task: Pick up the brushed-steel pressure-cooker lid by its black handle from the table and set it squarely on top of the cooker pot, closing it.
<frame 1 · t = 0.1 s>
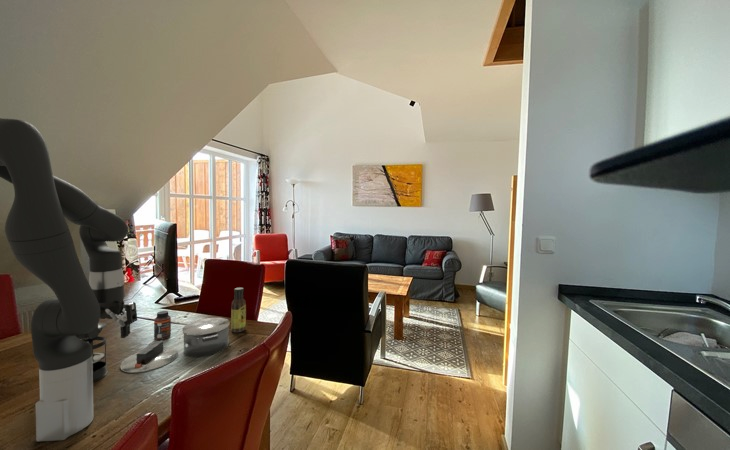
hand: (109, 337, 84), 17 cm above the table, tool pointing down, fingers open, 8 cm apart
french press: (86, 378, 92), on the table
supplement bottle: (162, 338, 122), on the table
cooker pot: (207, 347, 114), on the table
cooker lid: (150, 360, 104), on the table
sauce bottle: (238, 330, 131), on the table
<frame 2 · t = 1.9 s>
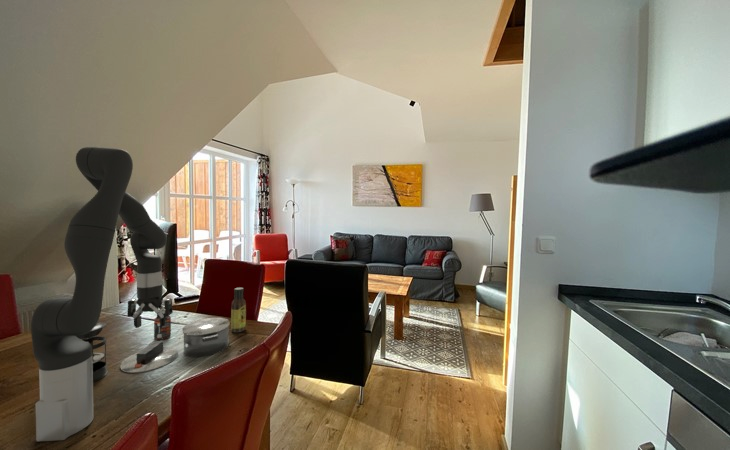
hand: (150, 326, 104), 12 cm above the table, tool pointing down, fingers open, 8 cm apart
nothing on the table moved.
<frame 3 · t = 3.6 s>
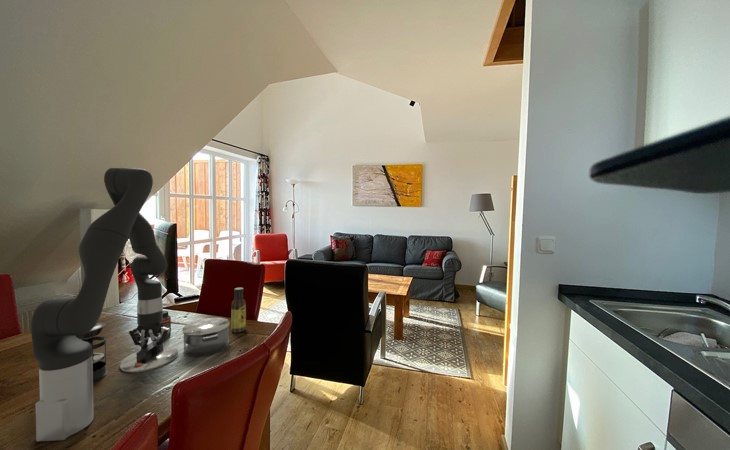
hand: (150, 355, 104), 2 cm above the table, tool pointing down, fingers closed on cooker lid, 3 cm apart
cooker lid: (150, 359, 104), on the table, touching gripper
everything else where it was.
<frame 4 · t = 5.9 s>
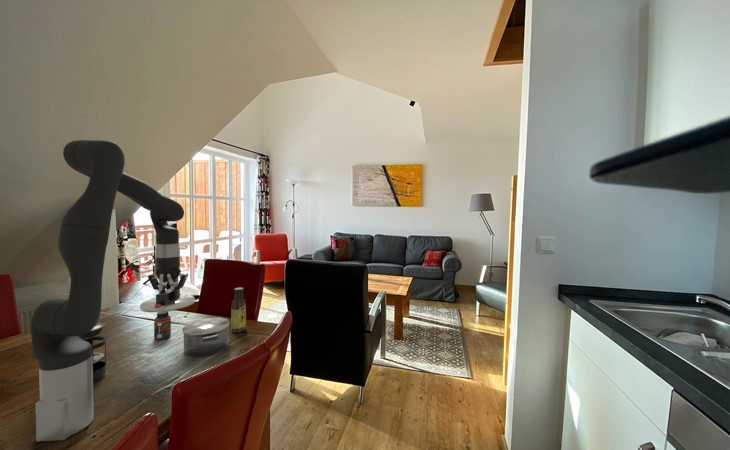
hand: (168, 299, 107), 22 cm above the table, tool pointing down, fingers closed on cooker lid, 3 cm apart
cooker lid: (168, 304, 107), point 20 cm above the table, touching gripper
everything else where it was.
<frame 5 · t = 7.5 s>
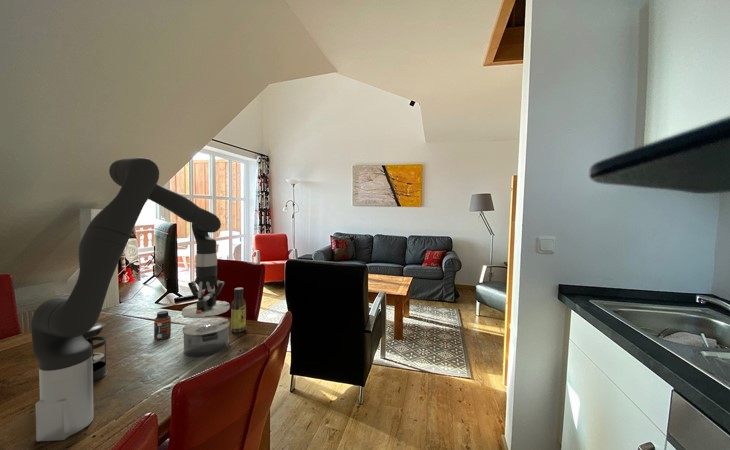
hand: (206, 306, 114), 17 cm above the table, tool pointing down, fingers closed on cooker lid, 3 cm apart
cooker lid: (206, 310, 114), point 15 cm above the table, touching gripper
everything else where it was.
when the fingers open (12 cm above the table, at t = 8.6 s): cooker lid drops 1 cm, resting on cooker pot.
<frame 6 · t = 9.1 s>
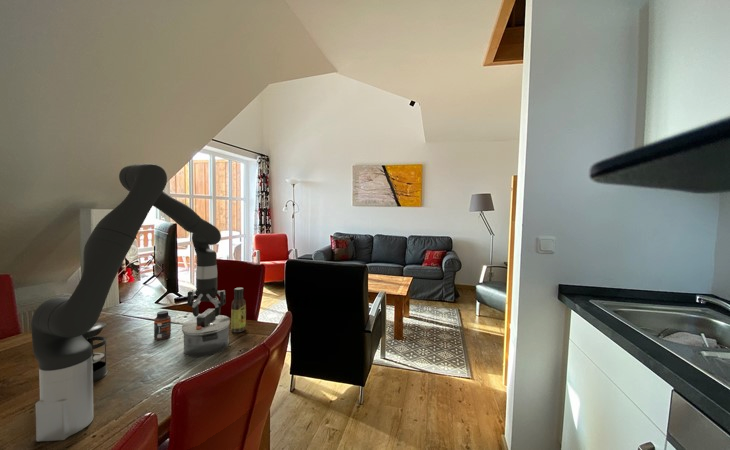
hand: (206, 315, 114), 13 cm above the table, tool pointing down, fingers open, 7 cm apart
cooker lid: (206, 325, 114), point 9 cm above the table, touching cooker pot
everything else where it was.
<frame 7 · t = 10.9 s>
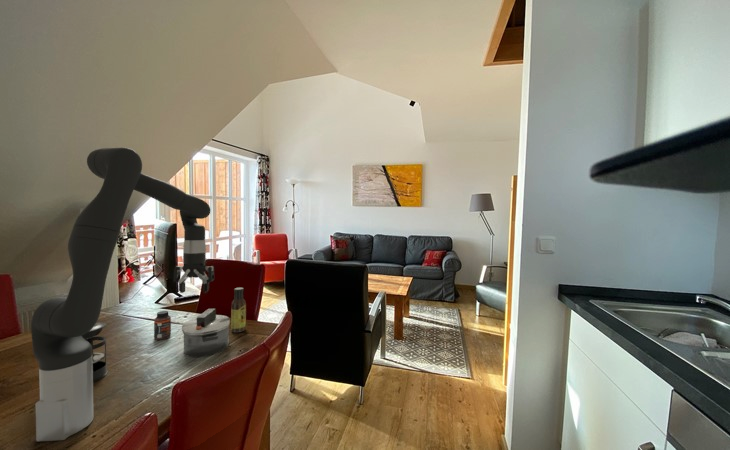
hand: (194, 292, 110), 24 cm above the table, tool pointing down, fingers open, 8 cm apart
nothing on the table moved.
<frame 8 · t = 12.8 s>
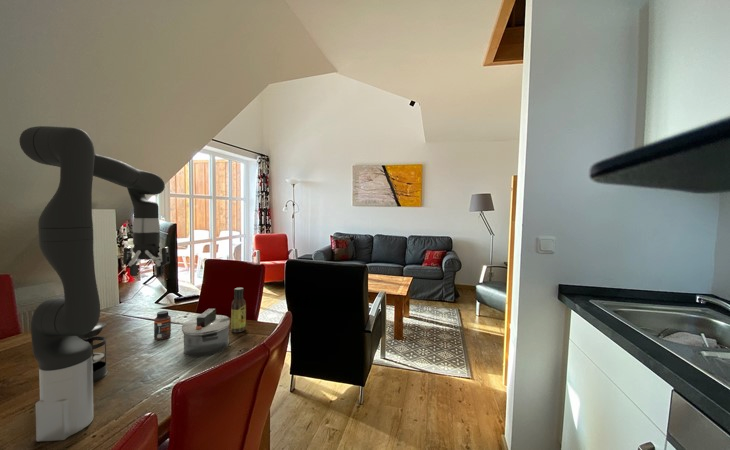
hand: (147, 276, 100), 32 cm above the table, tool pointing down, fingers open, 8 cm apart
nothing on the table moved.
at the end: cooker lid 0.1 cm off-centre on the cooker pot, point 9.1 cm above the cooker pot's base; cooker lid tilted 0°; the gripper is holding nothing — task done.
